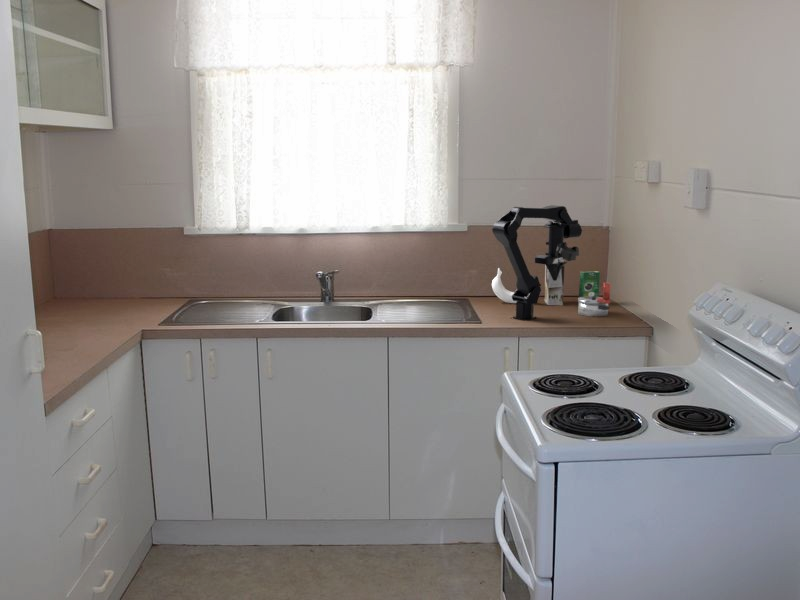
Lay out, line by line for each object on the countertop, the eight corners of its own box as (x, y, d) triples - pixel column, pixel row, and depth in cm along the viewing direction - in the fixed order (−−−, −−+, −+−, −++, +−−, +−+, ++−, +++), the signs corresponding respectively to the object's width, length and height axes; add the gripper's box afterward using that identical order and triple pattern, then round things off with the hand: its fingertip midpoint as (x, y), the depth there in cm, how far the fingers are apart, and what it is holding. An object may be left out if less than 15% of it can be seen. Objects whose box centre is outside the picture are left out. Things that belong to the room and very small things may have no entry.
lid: (571, 299, 313) (572, 278, 311) (597, 297, 317) (598, 276, 315) (594, 306, 299) (595, 284, 297) (621, 304, 303) (622, 282, 302)
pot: (570, 311, 315) (570, 299, 314) (594, 309, 319) (594, 297, 318) (593, 319, 301) (593, 307, 300) (618, 316, 305) (618, 305, 304)
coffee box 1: (563, 305, 327) (564, 265, 324) (547, 305, 327) (548, 265, 324) (559, 301, 336) (560, 262, 332) (543, 301, 336) (545, 262, 333)
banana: (538, 305, 328) (539, 269, 325) (491, 304, 330) (492, 268, 327) (538, 302, 332) (539, 267, 330) (491, 301, 335) (492, 266, 332)
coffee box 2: (595, 302, 333) (596, 270, 331) (599, 303, 331) (600, 271, 328) (578, 303, 331) (579, 271, 328) (581, 304, 328) (583, 272, 326)
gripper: (559, 243, 292) (557, 286, 295) (588, 239, 305) (587, 280, 308) (534, 240, 300) (533, 282, 303) (563, 236, 313) (562, 276, 316)
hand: (554, 280), depth 307 cm, fingers closed
